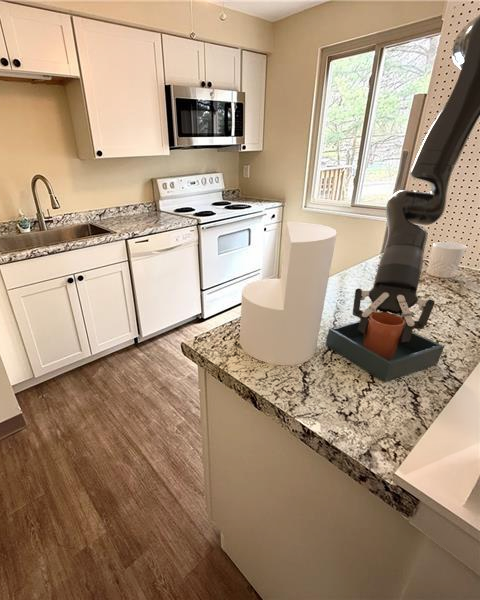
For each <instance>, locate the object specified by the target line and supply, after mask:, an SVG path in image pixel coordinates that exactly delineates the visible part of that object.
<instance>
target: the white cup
mask: <svg viewBox="0 0 480 600" xmlns="http://www.w3.org/2000/svg"><path fill="white" fill-rule="evenodd" d="M467 248H468V246H467V245H466V244H463V243H459V242H453V241H438V242H433V244H432V248H431V252H430V256H429V260H428V266H427V269H426V274H427V275H429V276H431V277H434V278H441V279H451V278H454V276H455V273H456V271H457V270H458V268H459V266H460V264H461V262H462V260H463V258H464V255H465V253H466V251H467Z"/></svg>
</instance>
